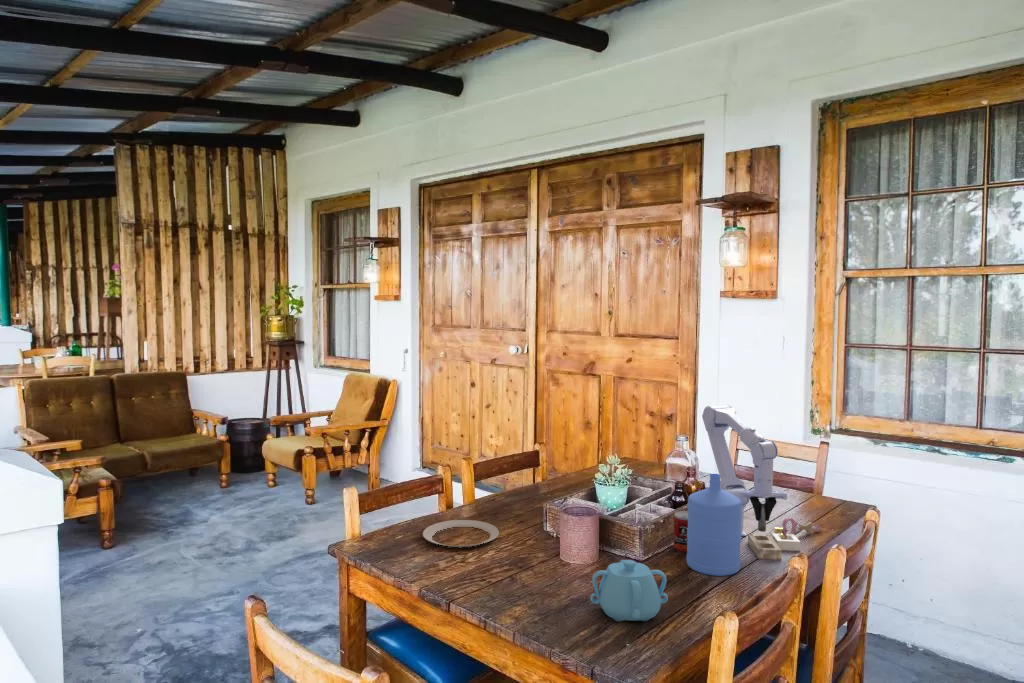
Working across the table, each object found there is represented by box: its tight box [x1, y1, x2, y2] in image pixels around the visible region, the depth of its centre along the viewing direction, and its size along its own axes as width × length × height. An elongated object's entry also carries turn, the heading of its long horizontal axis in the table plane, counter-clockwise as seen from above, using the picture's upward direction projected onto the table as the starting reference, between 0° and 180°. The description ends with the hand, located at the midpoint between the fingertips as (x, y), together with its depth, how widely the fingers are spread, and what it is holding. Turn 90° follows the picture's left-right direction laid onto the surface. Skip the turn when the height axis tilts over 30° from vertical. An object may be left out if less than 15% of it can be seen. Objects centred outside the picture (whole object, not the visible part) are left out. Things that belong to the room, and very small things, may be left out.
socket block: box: [770, 531, 801, 552], centre depth 230 cm, size 7×16×3 cm, turn 174°
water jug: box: [686, 473, 742, 577], centre depth 208 cm, size 16×16×28 cm
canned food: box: [673, 510, 688, 553], centre depth 224 cm, size 8×8×11 cm
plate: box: [422, 519, 500, 549], centre depth 233 cm, size 26×26×2 cm
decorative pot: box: [589, 559, 669, 622], centre depth 178 cm, size 16×16×14 cm
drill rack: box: [747, 533, 783, 561], centre depth 222 cm, size 7×14×3 cm, turn 174°
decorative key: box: [781, 517, 822, 537], centre depth 236 cm, size 7×1×20 cm
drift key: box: [773, 526, 786, 540], centre depth 231 cm, size 3×6×3 cm, turn 174°
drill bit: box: [757, 501, 767, 533], centre depth 224 cm, size 2×2×9 cm
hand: (762, 520), depth 225 cm, fingers closed on drill bit, 2 cm apart
